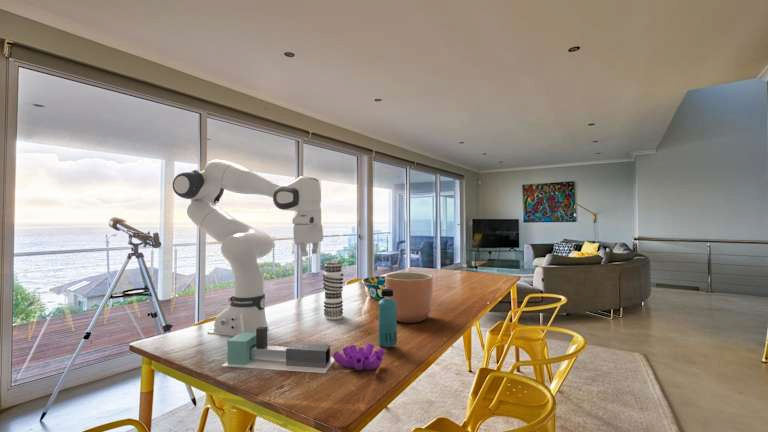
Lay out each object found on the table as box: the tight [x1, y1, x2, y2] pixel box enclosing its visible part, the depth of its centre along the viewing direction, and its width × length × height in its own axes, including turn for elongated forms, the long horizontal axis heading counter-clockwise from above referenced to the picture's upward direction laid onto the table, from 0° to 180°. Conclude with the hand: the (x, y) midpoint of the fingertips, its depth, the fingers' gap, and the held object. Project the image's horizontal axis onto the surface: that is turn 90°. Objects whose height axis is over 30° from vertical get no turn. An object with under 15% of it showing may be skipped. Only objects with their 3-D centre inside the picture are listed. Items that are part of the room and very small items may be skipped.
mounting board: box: [221, 356, 335, 374], centre depth 109 cm, size 32×11×1 cm, turn 80°
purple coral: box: [332, 342, 386, 371], centre depth 106 cm, size 11×15×10 cm
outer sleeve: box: [286, 342, 331, 368], centre depth 108 cm, size 12×5×5 cm, turn 80°
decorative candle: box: [322, 260, 345, 320], centre depth 161 cm, size 9×9×25 cm
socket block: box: [226, 332, 256, 365], centre depth 111 cm, size 6×8×7 cm
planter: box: [384, 271, 434, 324], centre depth 157 cm, size 21×21×19 cm
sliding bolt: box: [250, 326, 288, 361], centre depth 109 cm, size 20×3×9 cm, turn 80°
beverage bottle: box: [377, 288, 398, 347], centre depth 123 cm, size 6×7×20 cm
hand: (309, 255), depth 137 cm, fingers open, 8 cm apart
